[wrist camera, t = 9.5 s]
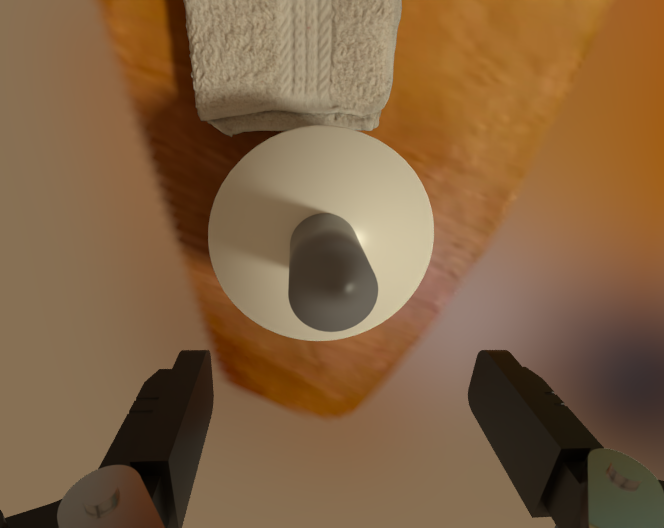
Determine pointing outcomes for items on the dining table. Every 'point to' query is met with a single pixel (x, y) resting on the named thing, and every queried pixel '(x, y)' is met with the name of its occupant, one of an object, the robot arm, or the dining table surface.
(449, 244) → the dining table surface
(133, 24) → the dining table surface
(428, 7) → the dining table surface
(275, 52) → the washcloth
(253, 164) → the lid
